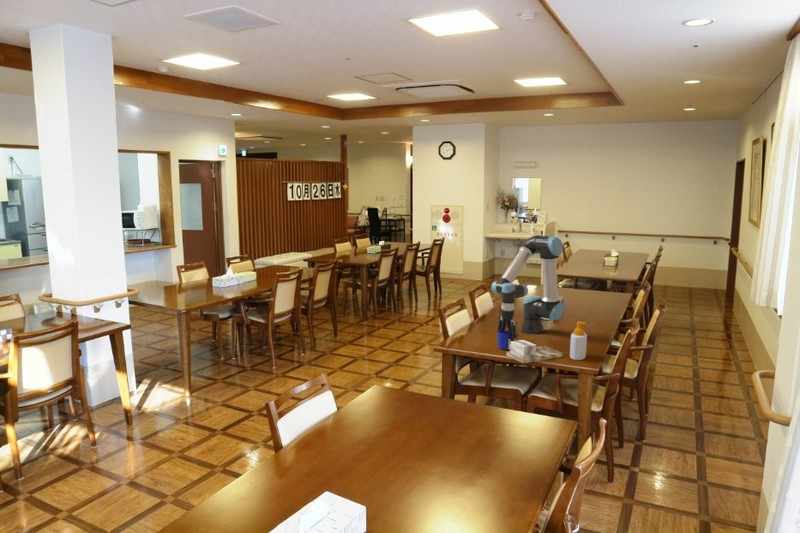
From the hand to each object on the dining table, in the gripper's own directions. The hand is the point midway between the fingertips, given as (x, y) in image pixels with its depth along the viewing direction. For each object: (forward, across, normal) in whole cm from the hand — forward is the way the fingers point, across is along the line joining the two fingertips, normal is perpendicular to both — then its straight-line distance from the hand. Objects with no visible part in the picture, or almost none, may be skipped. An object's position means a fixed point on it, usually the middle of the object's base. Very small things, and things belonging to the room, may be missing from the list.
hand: (506, 347), depth 326 cm
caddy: (+1, +19, +5) cm, 20 cm away
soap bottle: (+1, +31, +26) cm, 41 cm away
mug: (+1, +1, 0) cm, 1 cm away
